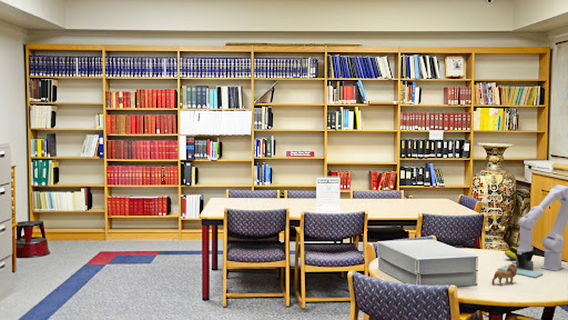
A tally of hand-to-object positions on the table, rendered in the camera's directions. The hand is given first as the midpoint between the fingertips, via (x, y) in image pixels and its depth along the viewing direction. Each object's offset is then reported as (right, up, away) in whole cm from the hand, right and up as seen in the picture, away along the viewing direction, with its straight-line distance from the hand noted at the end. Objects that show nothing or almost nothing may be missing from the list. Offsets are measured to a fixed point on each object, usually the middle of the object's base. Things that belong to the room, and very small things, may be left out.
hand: (524, 265), depth 283 cm
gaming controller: (+4, 0, +21) cm, 21 cm away
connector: (0, -2, 0) cm, 2 cm away
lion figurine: (-21, -4, -25) cm, 33 cm away
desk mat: (-5, -2, -7) cm, 9 cm away
